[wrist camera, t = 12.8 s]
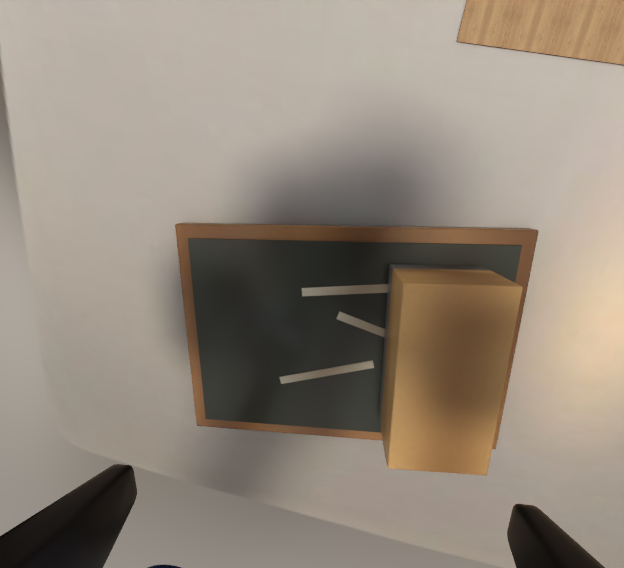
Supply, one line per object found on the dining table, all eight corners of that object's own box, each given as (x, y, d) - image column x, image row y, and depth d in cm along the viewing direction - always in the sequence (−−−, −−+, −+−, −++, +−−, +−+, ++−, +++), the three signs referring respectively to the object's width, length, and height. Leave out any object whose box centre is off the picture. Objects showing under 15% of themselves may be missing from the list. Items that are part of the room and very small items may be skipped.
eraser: (378, 417, 20) (387, 468, 17) (389, 263, 18) (403, 283, 14) (459, 422, 20) (487, 476, 16) (483, 265, 17) (523, 286, 14)
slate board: (201, 418, 23) (194, 428, 22) (181, 222, 19) (172, 224, 18) (490, 440, 21) (497, 453, 20) (530, 228, 18) (542, 230, 17)
